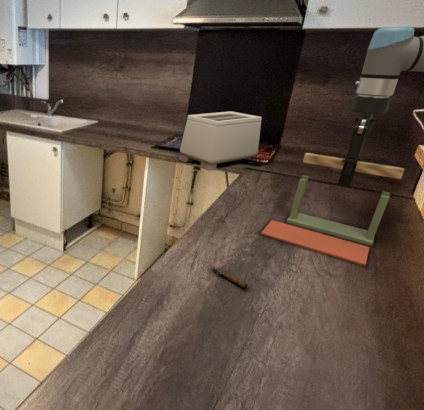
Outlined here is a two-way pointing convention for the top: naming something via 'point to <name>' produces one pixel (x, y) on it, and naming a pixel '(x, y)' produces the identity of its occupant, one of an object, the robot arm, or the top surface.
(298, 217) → the rack
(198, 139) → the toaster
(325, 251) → the mat
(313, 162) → the hanger bar
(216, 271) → the can opener
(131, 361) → the top surface
